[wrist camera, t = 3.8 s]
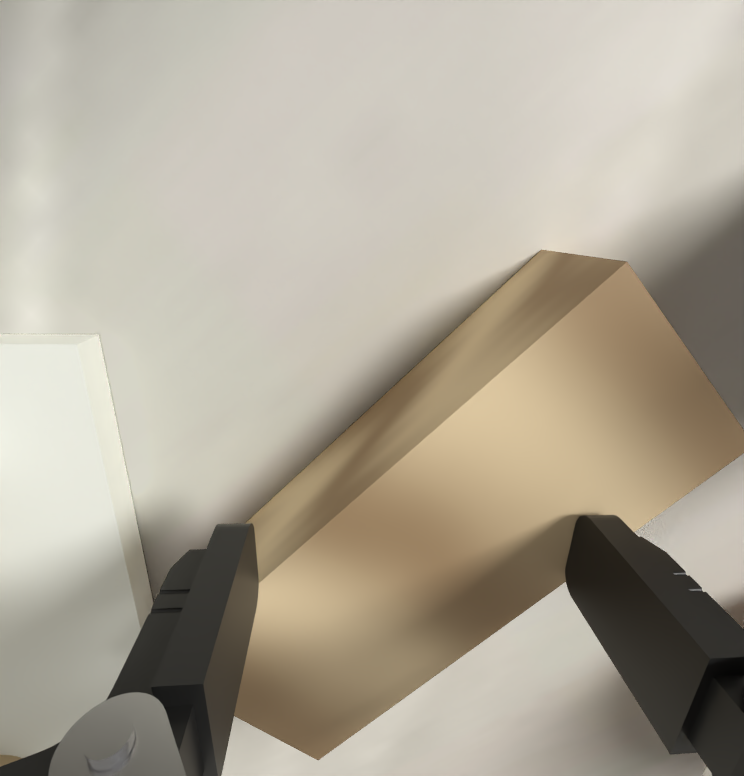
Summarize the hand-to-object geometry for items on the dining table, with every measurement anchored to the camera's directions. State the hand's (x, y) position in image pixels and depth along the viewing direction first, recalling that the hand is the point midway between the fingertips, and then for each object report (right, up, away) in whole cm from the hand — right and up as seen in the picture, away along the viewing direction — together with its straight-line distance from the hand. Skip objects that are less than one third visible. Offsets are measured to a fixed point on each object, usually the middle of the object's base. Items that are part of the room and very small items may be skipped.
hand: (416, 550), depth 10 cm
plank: (0, +1, +4) cm, 4 cm away
